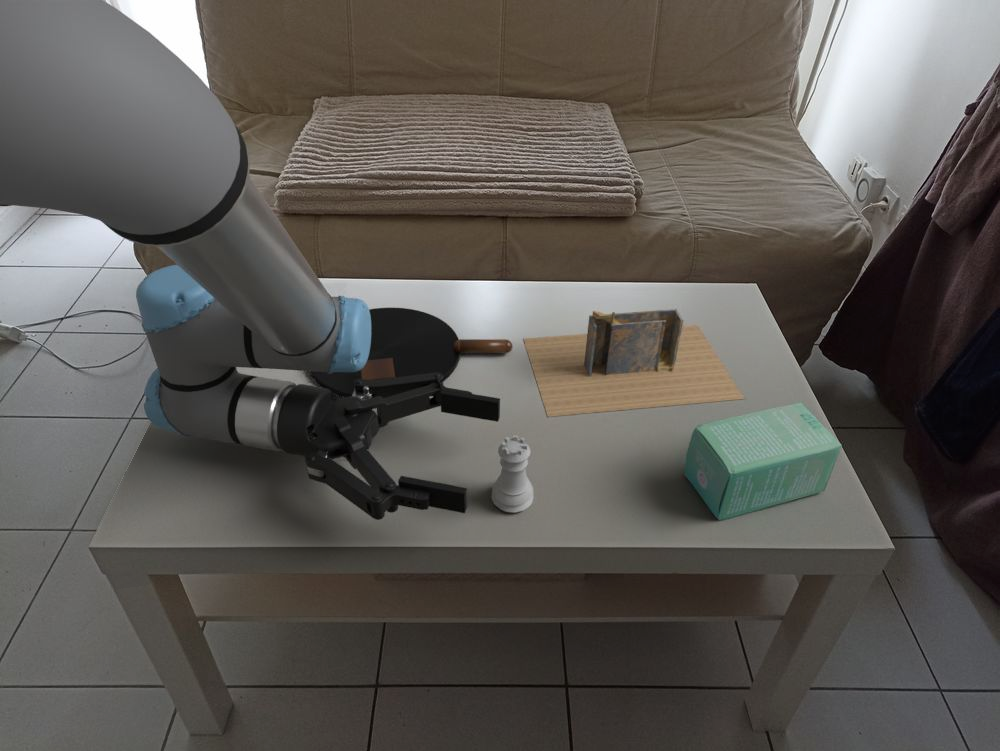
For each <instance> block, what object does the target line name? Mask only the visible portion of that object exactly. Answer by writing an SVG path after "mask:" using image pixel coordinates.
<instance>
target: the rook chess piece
mask: <svg viewBox="0 0 1000 751" xmlns="http://www.w3.org/2000/svg"><path fill="white" fill-rule="evenodd" d="M531 451H532V450H531V447H530V446H529V444H528V442H526V438H524V437H520V439H519V435H514V434H513V435H512V438H510V436H506V437H505V438H504V440H503V441H502V442H501V444H500V445H499V446H498V449H497V454H498V455H499V457H500V459H499V460H500V461H499V464H500V466H501V470H500V474H499V476H498V478H496V480H495V482H494V483H493V485H492V490H491V500H492V503H493V505H495V506H496V507H497V508H498V509H499V510H501V511H503V512H505V513H509V514H517V513H521V512H523V511H525V510H526V509H528V508H529V507H531V505H532V504H533V502H534V496H535V495H534V487H533V485H532V482H531V481H530V480H529V477H528V476H527V470H526V469H527V466H528V463H529V460H528V459H529V457H530V456H531Z"/></svg>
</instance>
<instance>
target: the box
mask: <svg viewBox="0 0 1000 751" xmlns="http://www.w3.org/2000/svg"><path fill="white" fill-rule="evenodd" d="M842 447H843V445H842V443H841V442H840V441H839V440H838V439H837V438H836V437H835V436H834V435H833V434H832V433H831V432H830V431H829V430H828V429H827V427H826V426H825V425H824V424H823V423H822V422H821V421H820V420H819V419H818V418H817V417H816V416H815V415H814V414H813V413H812V412H811V410H810V409H809V408H807V406H806V405H805V404H804V403H803V402H797V403H792V404H788V405H787V404H786V405H781V406H777V407H772V408H768V409H764V410H763V409H762V410H759V411H755V412H749V413H746V414H741V415H740V414H739V415H736V416H731V417H727V418H724V419H719V420H715V421H711V422H707V423H703V424H698V425H697V426H696V427H695V428H694V429H693V431H692V433H691V437H690V441H689V443H688V447H687V450H686V452H685V460H684V461H685V462H684V471H683V474H684V476H685V477H686V478H687V479H688V481H689V483H690V484H691V485H692V486H693V488H694V490H696V492H697V493H698V495H699V496H700V497H701V499H702V500H703V501H704V503H705V505H706V506H707V507H708V509H709V511H710V512H711V513H712V514H713V516H714V517H715V518H716V519H717V520H718V521H724V520H728V519H731V518H736V517H738V516H743V515H746V514H749V513H750V514H751V513H753V512H757V511H761V510H764V509H767V508H771V507H774V506H778V505H781V504H784V503H785V504H786V503H788V502H791V501H794V500H798V499H801V498H805V497H809V496H812V495H813V496H814V495H816V494H819V493H820V494H821V493H823V492H825V491H826V488H827V485H828V483H829V481H830V478H831V474H832V472H833V469H834V467H835V464H836V461H837V459H838V456H839V455H840V452H841V450H842Z"/></svg>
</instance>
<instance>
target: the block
mask: <svg viewBox="0 0 1000 751" xmlns="http://www.w3.org/2000/svg"><path fill="white" fill-rule="evenodd" d="M361 377H362V379H368V380H380V379H388V378H395V373H394V366H393V359H392V358H387V359H377V360H367V362H366V364H365V366H364V367H363V368H362V369H361Z"/></svg>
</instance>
